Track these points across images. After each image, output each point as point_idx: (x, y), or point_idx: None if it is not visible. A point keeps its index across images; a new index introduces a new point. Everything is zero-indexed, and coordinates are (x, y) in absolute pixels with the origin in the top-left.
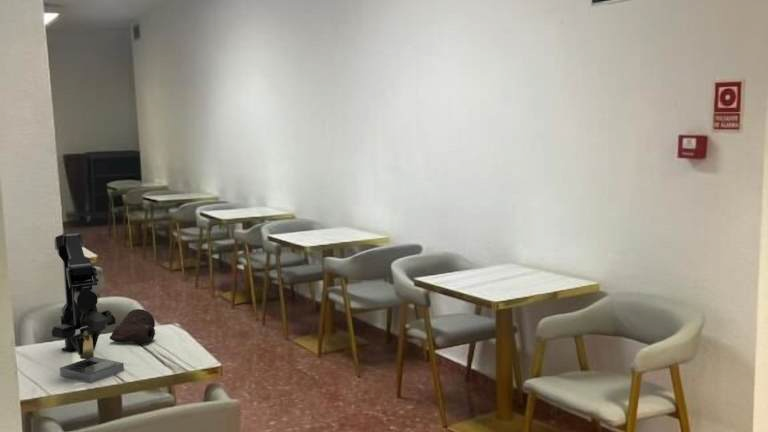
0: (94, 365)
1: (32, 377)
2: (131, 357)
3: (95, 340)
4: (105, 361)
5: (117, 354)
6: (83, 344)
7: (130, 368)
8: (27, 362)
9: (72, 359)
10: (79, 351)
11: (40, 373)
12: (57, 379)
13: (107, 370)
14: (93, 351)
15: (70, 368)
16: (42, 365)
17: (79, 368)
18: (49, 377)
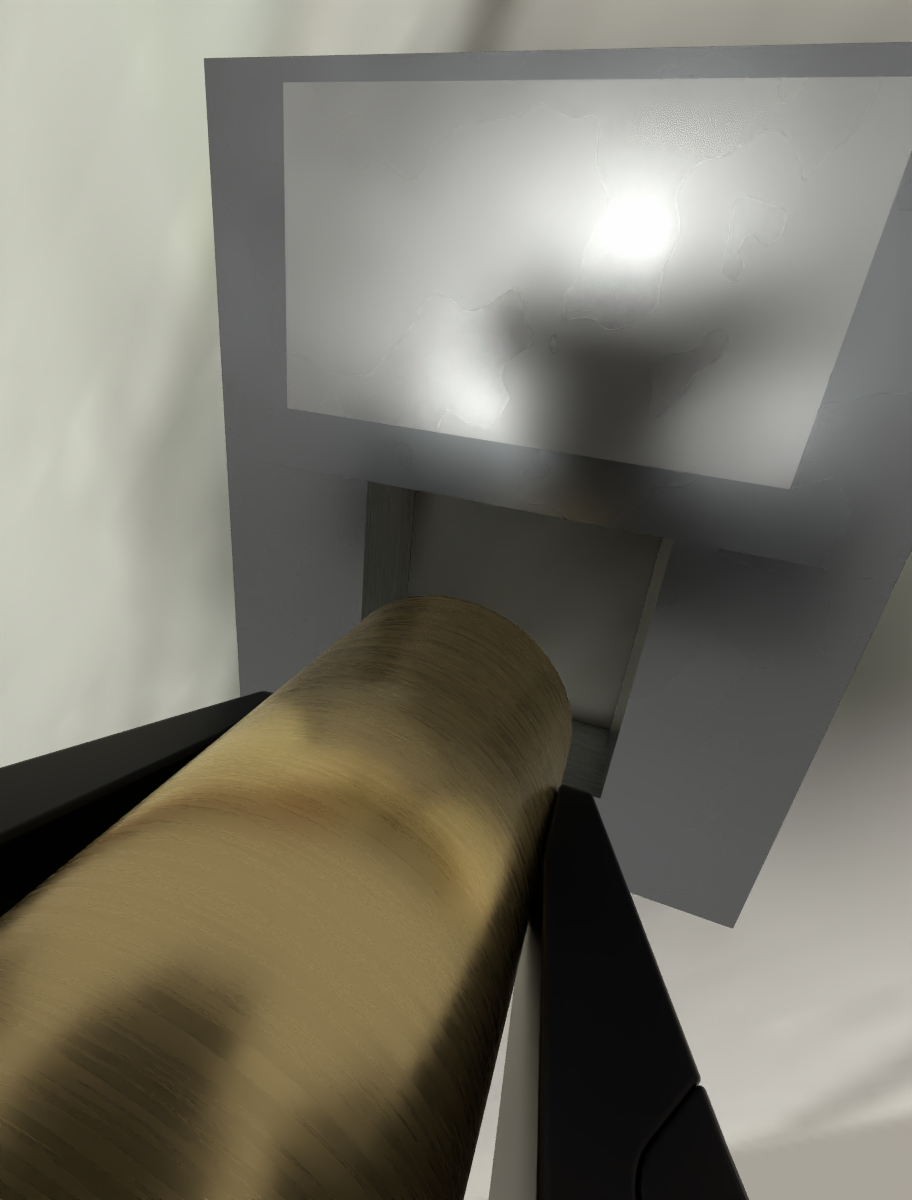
0: (602, 391)
1: (841, 1071)
2: (7, 478)
3: (20, 802)
4: (345, 370)
5: (48, 666)
6: (469, 982)
7: (186, 136)
8: (483, 1184)
9: None
10: (612, 881)
11: (696, 1042)
12: (869, 807)
13: (579, 66)
14: (324, 652)
15: (732, 778)
16: (499, 1085)
17: (699, 644)
18: (806, 922)
